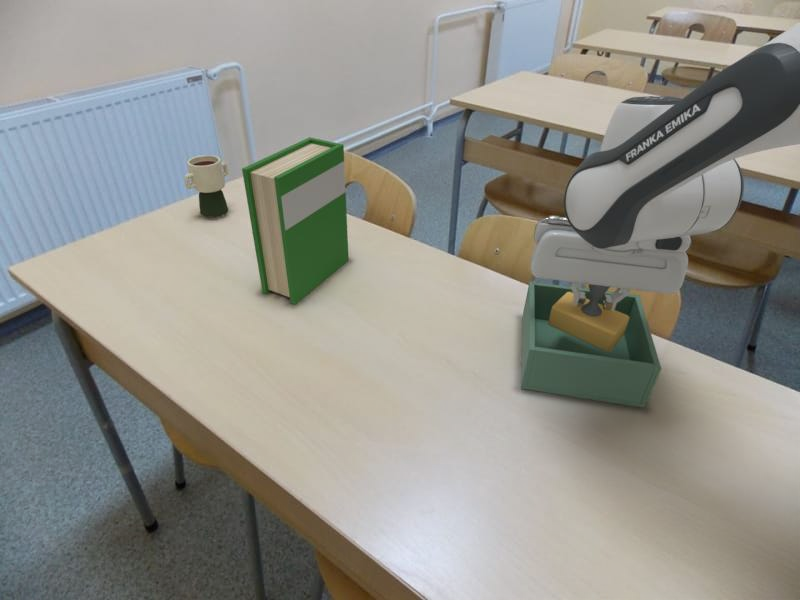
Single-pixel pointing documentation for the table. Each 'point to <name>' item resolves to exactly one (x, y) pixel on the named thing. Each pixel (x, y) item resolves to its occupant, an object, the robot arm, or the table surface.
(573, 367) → the open box
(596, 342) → the rubber stamp
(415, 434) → the table surface
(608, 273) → the robot arm
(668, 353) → the table surface
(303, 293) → the hardback book
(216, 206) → the character mug
